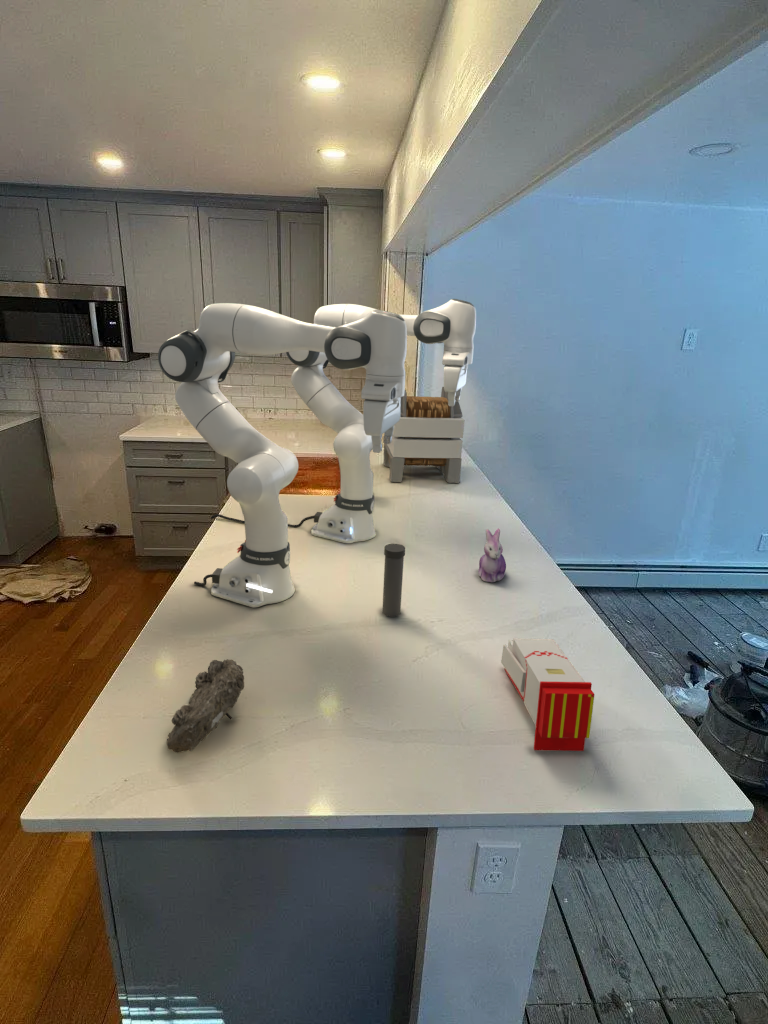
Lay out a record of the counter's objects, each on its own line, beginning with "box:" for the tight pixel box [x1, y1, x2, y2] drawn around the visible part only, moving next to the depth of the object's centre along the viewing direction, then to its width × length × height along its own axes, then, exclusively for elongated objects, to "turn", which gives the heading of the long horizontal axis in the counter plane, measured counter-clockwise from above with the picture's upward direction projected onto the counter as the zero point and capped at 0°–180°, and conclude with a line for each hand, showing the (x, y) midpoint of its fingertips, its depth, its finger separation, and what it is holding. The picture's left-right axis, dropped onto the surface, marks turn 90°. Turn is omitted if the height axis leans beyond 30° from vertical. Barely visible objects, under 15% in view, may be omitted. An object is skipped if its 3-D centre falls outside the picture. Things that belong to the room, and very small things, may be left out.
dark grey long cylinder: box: [381, 555, 405, 618], centre depth 145 cm, size 5×5×18 cm
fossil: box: [166, 658, 245, 754], centre depth 106 cm, size 22×10×15 cm
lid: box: [383, 543, 406, 559], centre depth 142 cm, size 5×5×2 cm
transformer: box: [383, 386, 465, 484], centre depth 268 cm, size 34×33×41 cm
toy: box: [500, 637, 595, 752], centre depth 114 cm, size 12×13×30 cm
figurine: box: [477, 527, 507, 583], centre depth 168 cm, size 9×10×15 cm
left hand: (382, 447), depth 132 cm, fingers open, 8 cm apart
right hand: (454, 403), depth 174 cm, fingers open, 8 cm apart
